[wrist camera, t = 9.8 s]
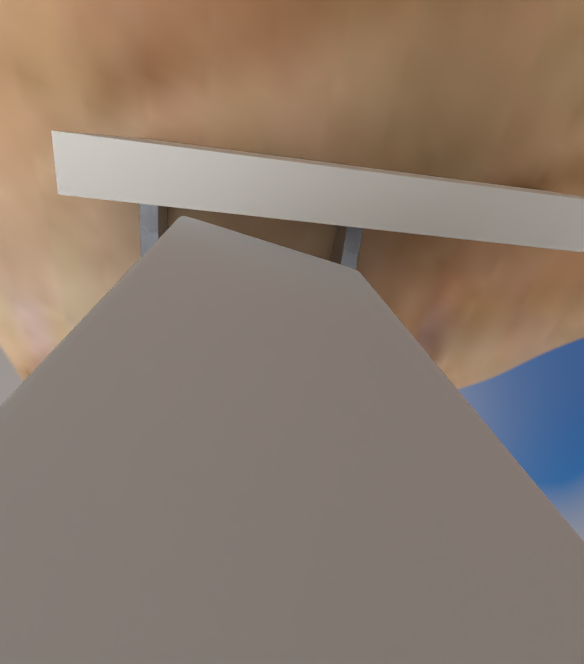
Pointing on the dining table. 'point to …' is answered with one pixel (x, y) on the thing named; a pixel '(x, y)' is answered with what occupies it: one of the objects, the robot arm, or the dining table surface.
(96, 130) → the dining table surface
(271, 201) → the wall board
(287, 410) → the milk carton
